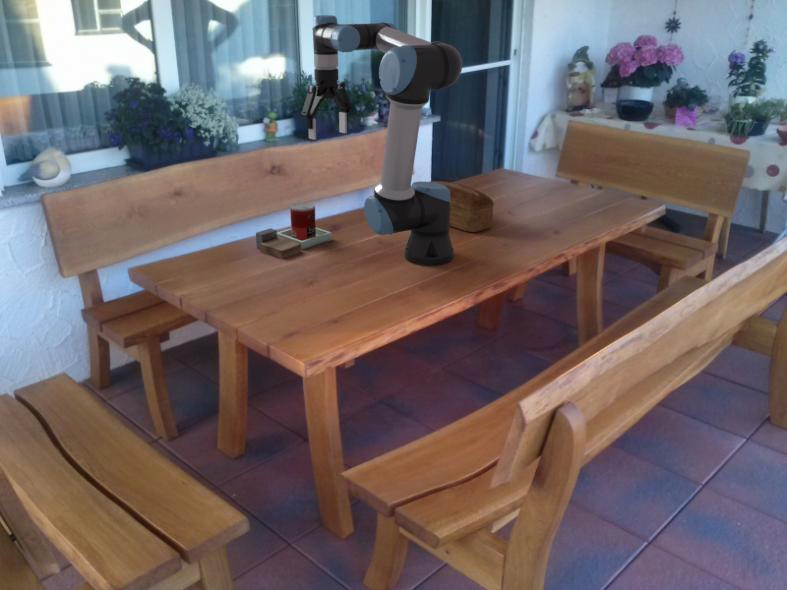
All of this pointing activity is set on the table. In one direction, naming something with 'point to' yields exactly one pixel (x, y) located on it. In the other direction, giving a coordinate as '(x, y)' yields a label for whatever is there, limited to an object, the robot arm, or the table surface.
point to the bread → (468, 208)
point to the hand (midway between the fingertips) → (328, 135)
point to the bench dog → (265, 236)
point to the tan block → (280, 247)
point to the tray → (320, 238)
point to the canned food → (303, 221)
